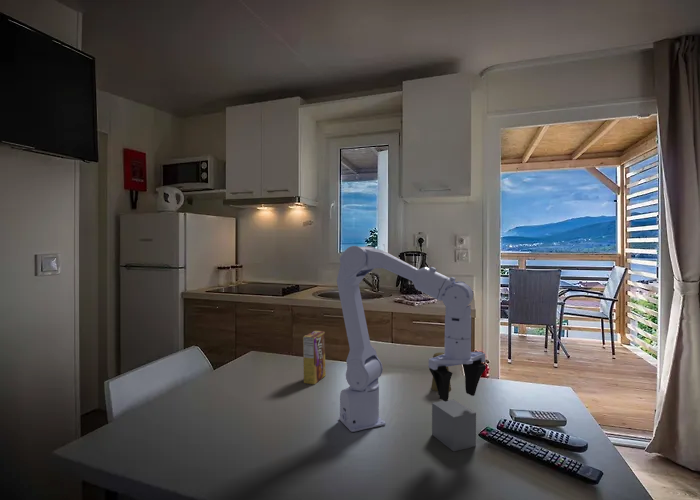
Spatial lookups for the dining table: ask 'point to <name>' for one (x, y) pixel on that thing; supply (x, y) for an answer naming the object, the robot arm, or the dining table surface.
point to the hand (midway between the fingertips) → (457, 396)
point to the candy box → (314, 357)
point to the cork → (433, 378)
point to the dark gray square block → (454, 424)
